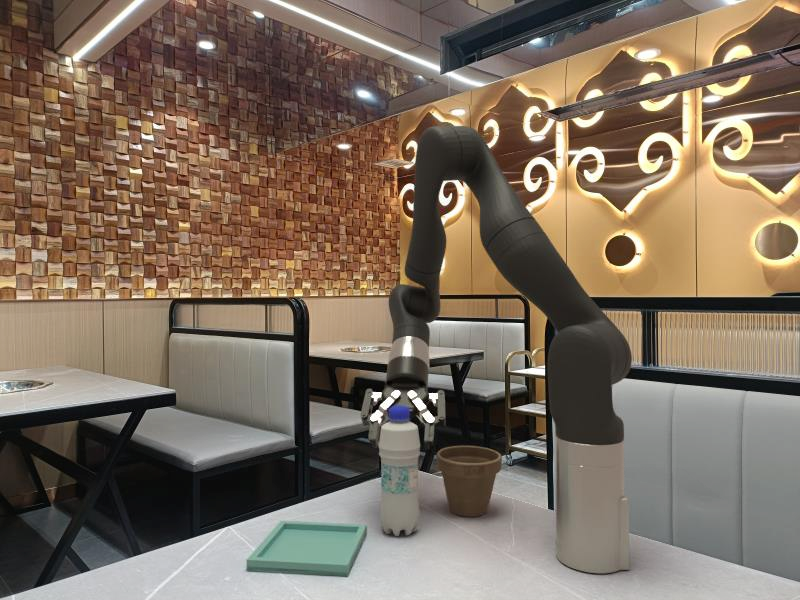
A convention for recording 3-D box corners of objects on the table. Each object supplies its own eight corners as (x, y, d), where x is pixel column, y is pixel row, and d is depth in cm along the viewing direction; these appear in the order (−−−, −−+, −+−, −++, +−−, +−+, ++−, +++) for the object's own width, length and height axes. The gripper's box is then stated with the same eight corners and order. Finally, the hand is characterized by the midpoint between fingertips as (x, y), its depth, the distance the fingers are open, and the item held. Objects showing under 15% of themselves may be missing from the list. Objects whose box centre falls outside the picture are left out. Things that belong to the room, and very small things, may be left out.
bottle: (416, 540, 86) (416, 410, 87) (374, 537, 88) (373, 408, 88) (423, 524, 93) (423, 402, 93) (384, 521, 94) (383, 401, 95)
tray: (366, 534, 89) (366, 524, 89) (347, 576, 75) (347, 565, 75) (280, 530, 91) (280, 520, 91) (246, 570, 77) (246, 559, 77)
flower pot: (507, 523, 93) (507, 462, 93) (438, 523, 93) (438, 462, 93) (496, 499, 105) (495, 445, 105) (434, 499, 105) (434, 445, 105)
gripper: (367, 353, 101) (353, 432, 90) (446, 354, 99) (443, 434, 88) (372, 379, 107) (360, 456, 95) (448, 380, 105) (445, 459, 93)
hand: (400, 446), depth 92 cm, fingers open, 8 cm apart
